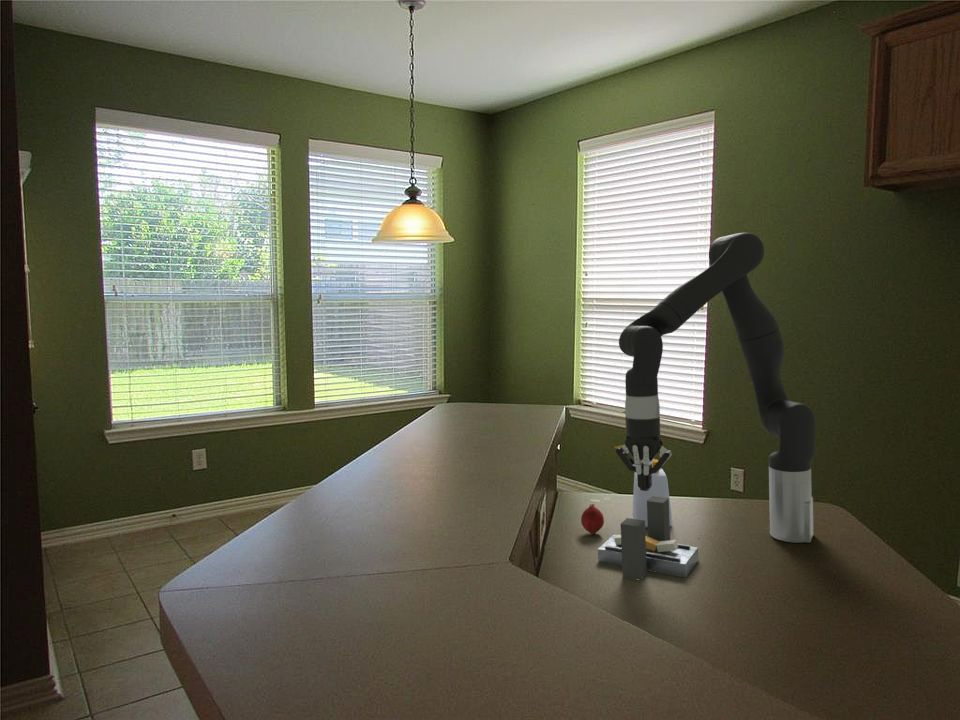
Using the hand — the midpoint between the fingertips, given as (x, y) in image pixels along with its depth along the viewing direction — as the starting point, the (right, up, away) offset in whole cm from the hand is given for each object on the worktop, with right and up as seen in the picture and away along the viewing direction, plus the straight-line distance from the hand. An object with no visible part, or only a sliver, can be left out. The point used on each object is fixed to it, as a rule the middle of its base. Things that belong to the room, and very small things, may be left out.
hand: (644, 489), depth 145 cm
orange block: (+1, -14, +1) cm, 14 cm away
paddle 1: (-3, -14, +4) cm, 15 cm away
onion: (-8, -16, +20) cm, 27 cm away
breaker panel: (+1, -17, +2) cm, 17 cm away
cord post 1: (-4, -18, -6) cm, 19 cm away
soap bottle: (+6, -14, +26) cm, 30 cm away
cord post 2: (+6, -16, +9) cm, 19 cm away
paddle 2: (+5, -14, -1) cm, 15 cm away
